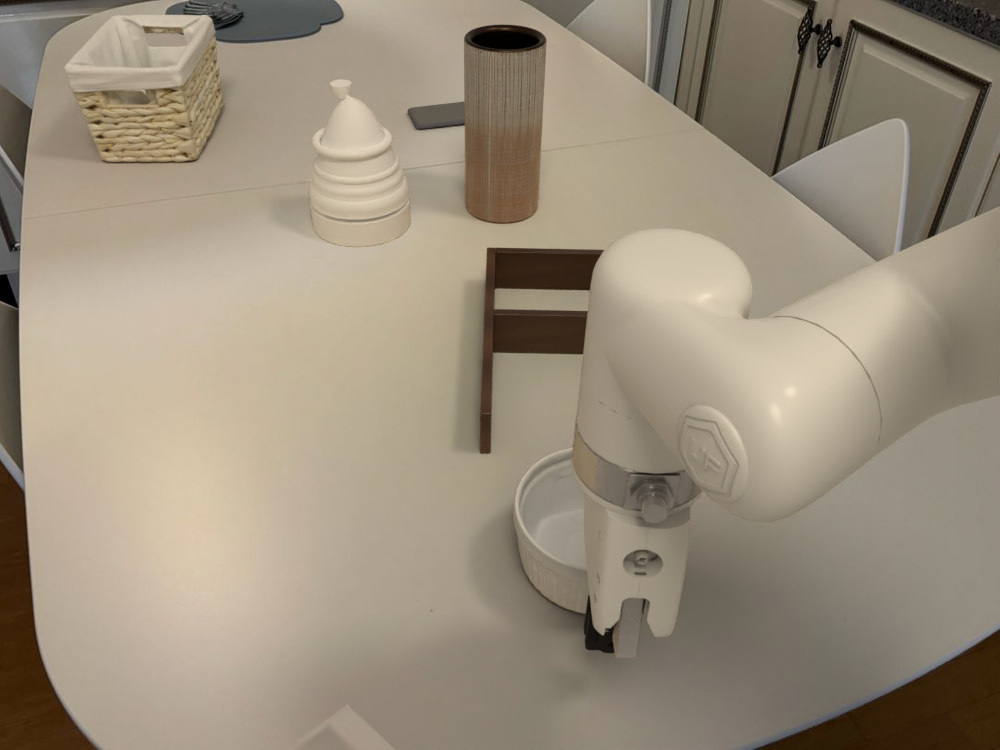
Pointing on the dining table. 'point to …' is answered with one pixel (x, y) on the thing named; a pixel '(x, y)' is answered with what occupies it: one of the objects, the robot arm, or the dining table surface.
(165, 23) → the basket
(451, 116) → the smartphone
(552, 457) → the ramekin
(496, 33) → the planter
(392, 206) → the honey pot
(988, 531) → the dining table surface
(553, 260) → the frame
